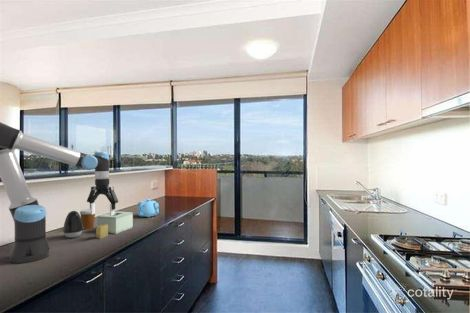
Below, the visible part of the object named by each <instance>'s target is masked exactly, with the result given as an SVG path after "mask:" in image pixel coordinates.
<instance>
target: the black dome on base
mask: <svg viewBox="0 0 470 313" xmlns="http://www.w3.org/2000/svg"><path fill="white" fill-rule="evenodd" d="M62 228H63V229H62V233H63V234H64V236H65V237H66V238H68V239H75V238H78V237H79V236H81V235H82V233H83V230H84V229H83V224H82V220H81V215H80V212H78V211H76V210H71V211H69V212H68V214H67V215H66V217H65V219H64V223H63V227H62Z"/></svg>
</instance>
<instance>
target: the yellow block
mask: <svg viewBox="0 0 470 313" xmlns="http://www.w3.org/2000/svg"><path fill="white" fill-rule="evenodd" d="M106 236H107V237H108V236H109V233H108V224H102V225H99V226H97V225H96V226H95V239H97V238H98V239H99V240H101V239H104V238H106ZM98 239H97V240H98Z"/></svg>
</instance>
